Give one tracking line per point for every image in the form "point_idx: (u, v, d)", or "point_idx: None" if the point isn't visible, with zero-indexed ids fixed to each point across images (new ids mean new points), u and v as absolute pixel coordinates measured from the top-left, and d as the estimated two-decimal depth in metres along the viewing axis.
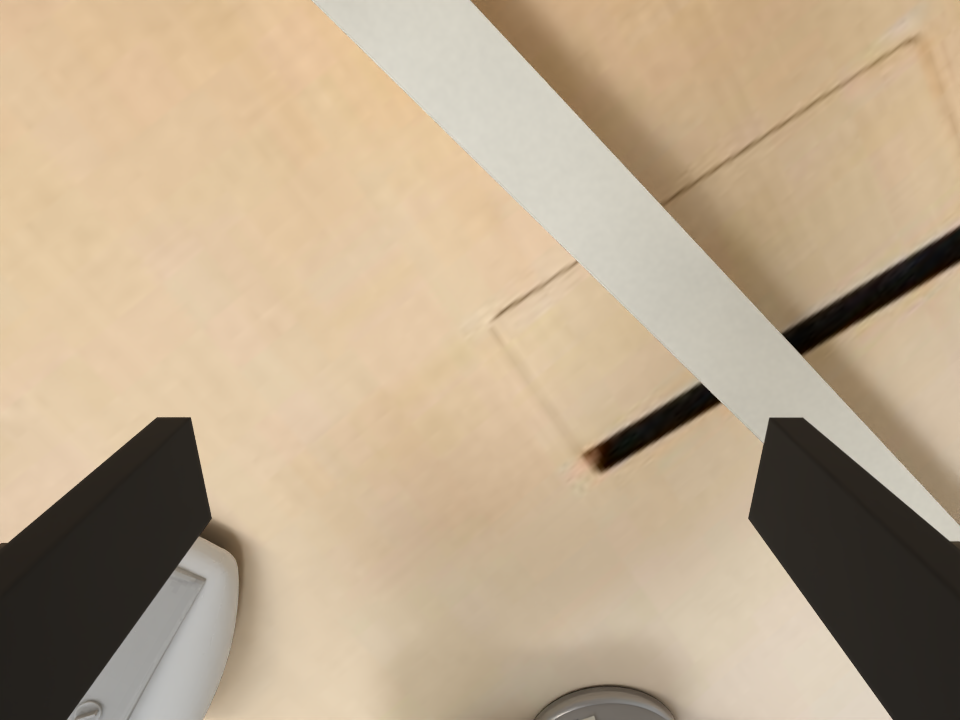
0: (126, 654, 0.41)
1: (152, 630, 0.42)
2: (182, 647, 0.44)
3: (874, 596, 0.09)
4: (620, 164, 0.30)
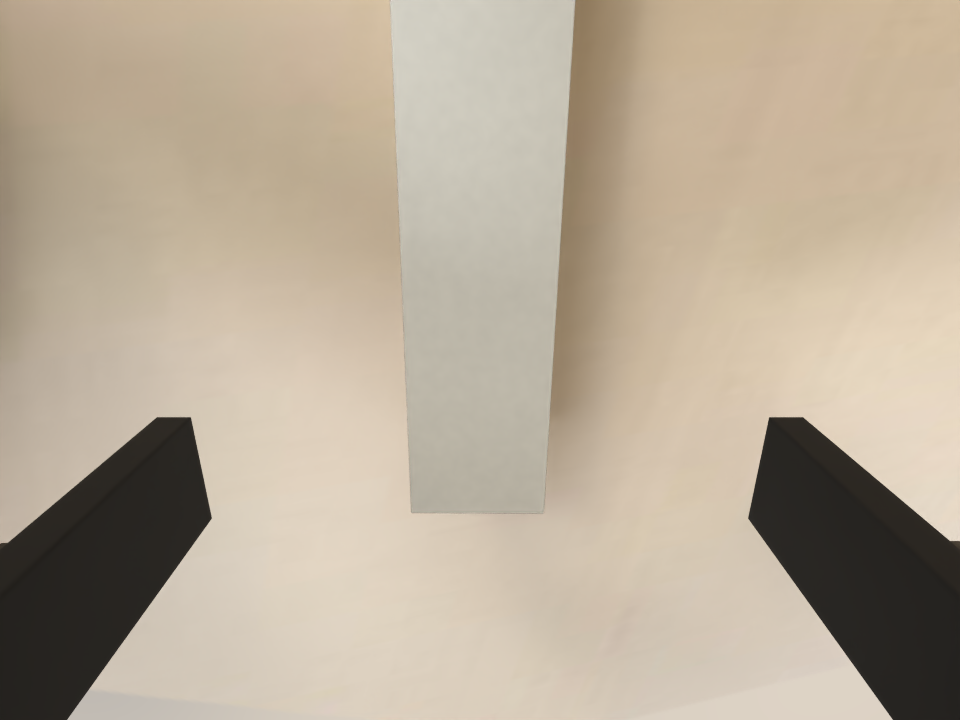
0: None
1: None
2: None
3: (874, 597, 0.09)
4: None
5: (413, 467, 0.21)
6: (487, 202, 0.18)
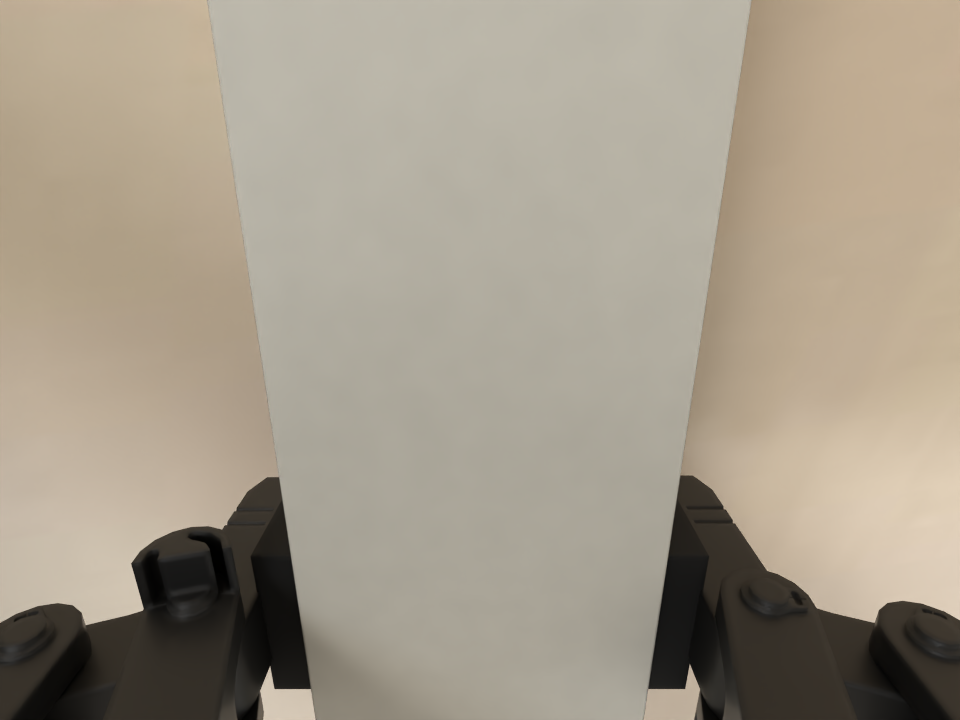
0: None
1: None
2: None
3: None
4: None
5: None
6: (499, 195, 0.06)
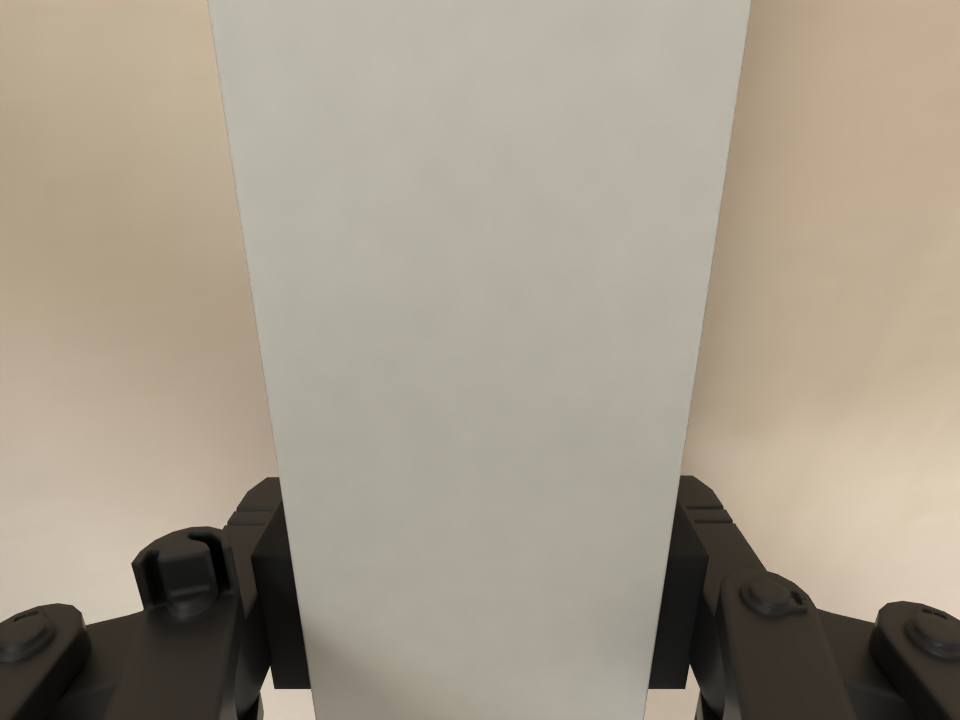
0: None
1: None
2: None
3: None
4: None
5: None
6: (498, 195, 0.06)
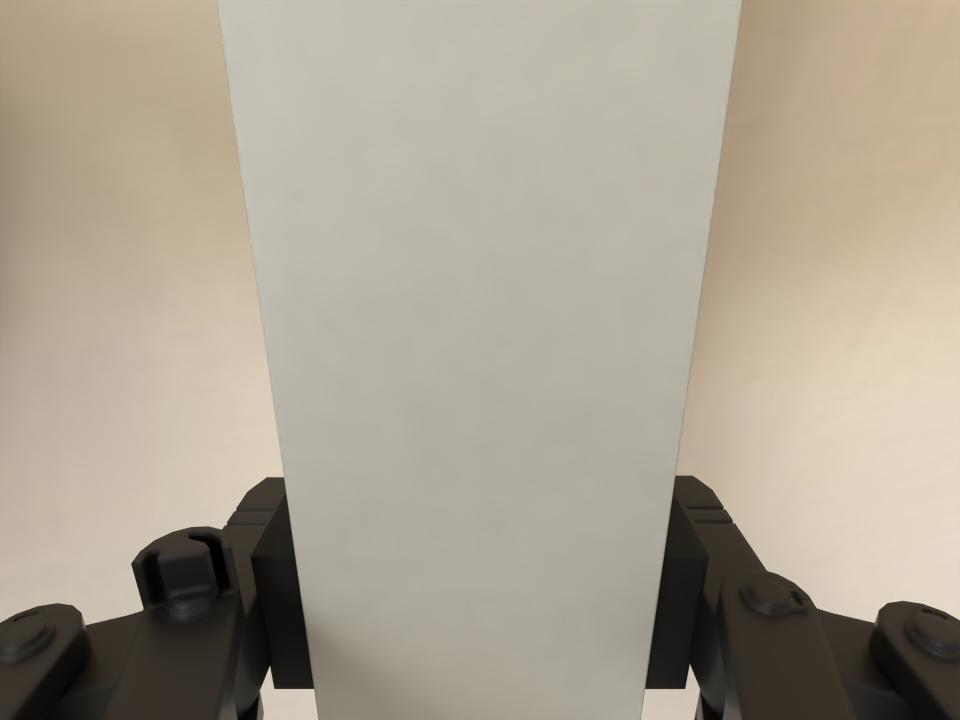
0: None
1: None
2: None
3: None
4: None
5: None
6: (499, 189, 0.06)
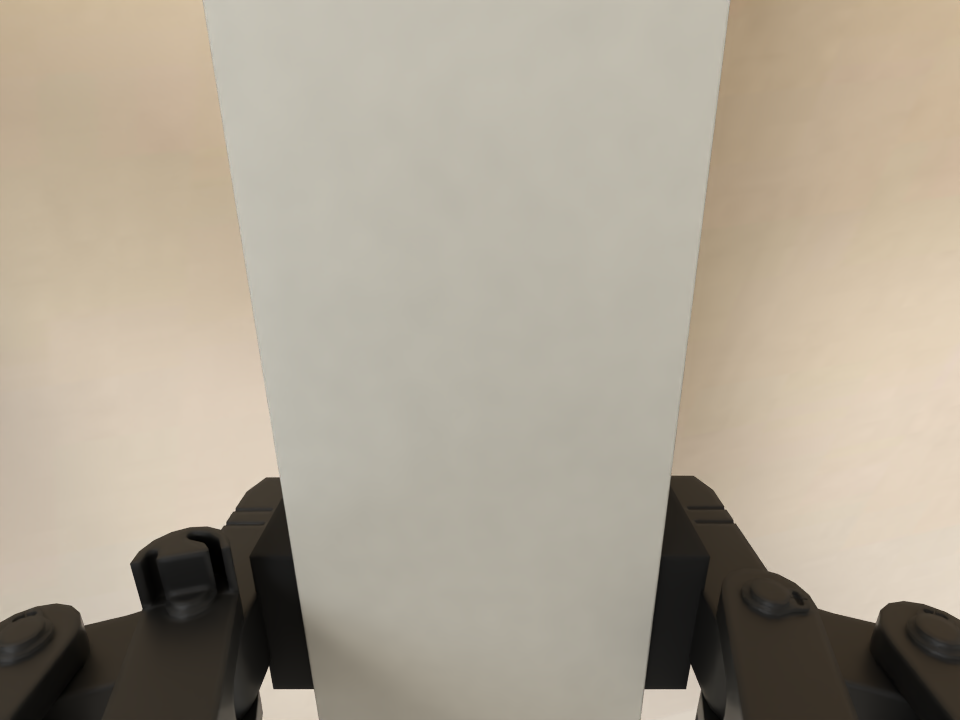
0: None
1: None
2: None
3: None
4: None
5: None
6: (489, 188, 0.06)
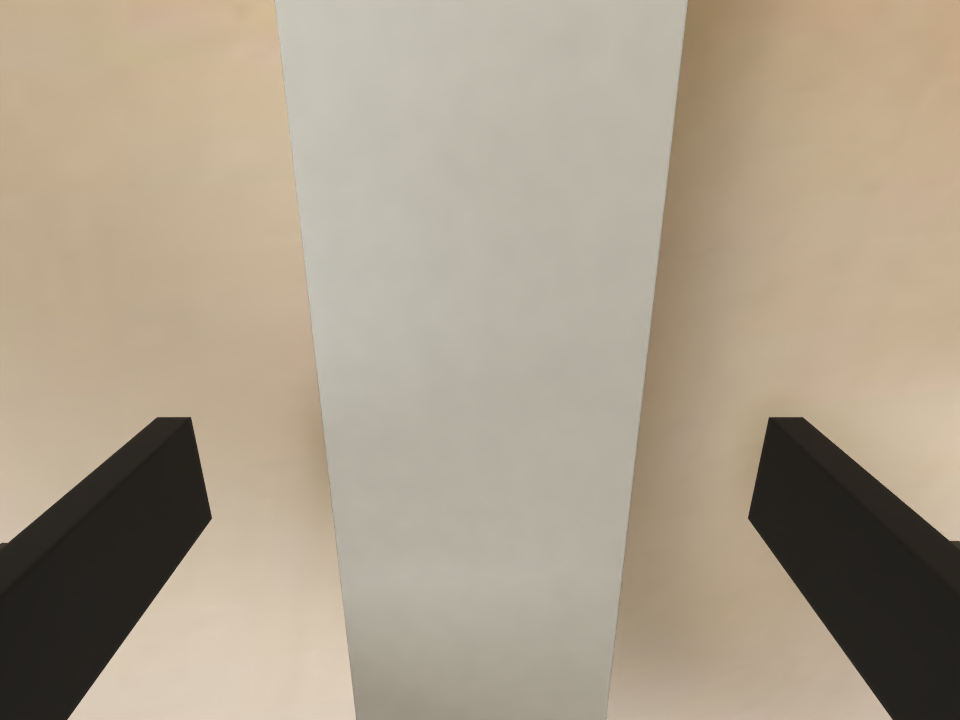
0: None
1: None
2: None
3: (873, 596, 0.09)
4: None
5: (358, 680, 0.11)
6: (495, 171, 0.08)
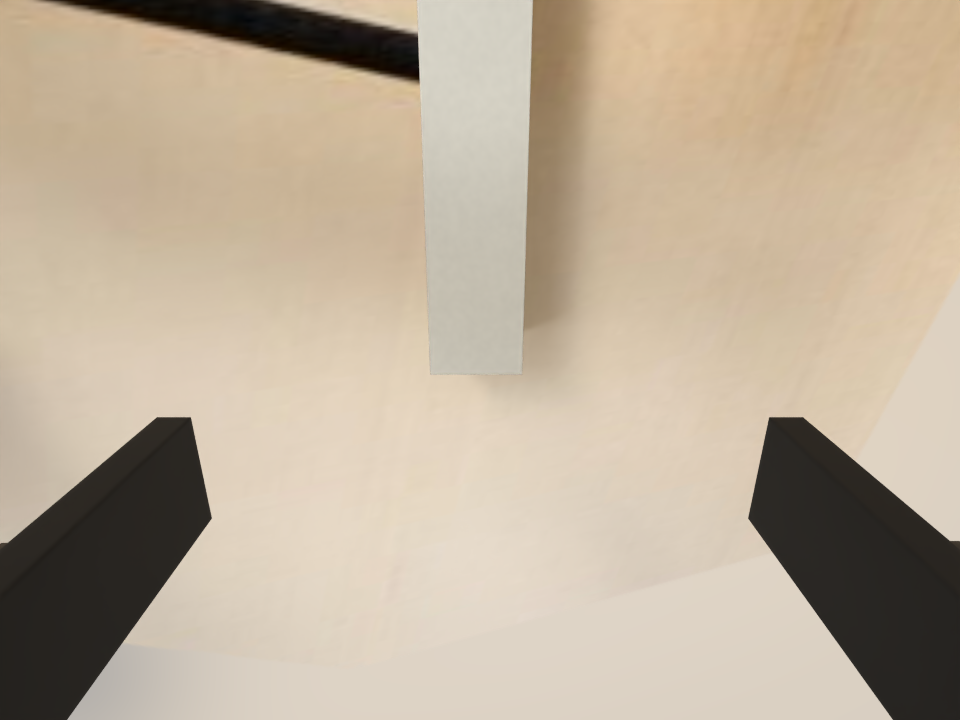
0: None
1: None
2: None
3: (874, 597, 0.09)
4: None
5: (431, 339, 0.31)
6: (479, 152, 0.28)
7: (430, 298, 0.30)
